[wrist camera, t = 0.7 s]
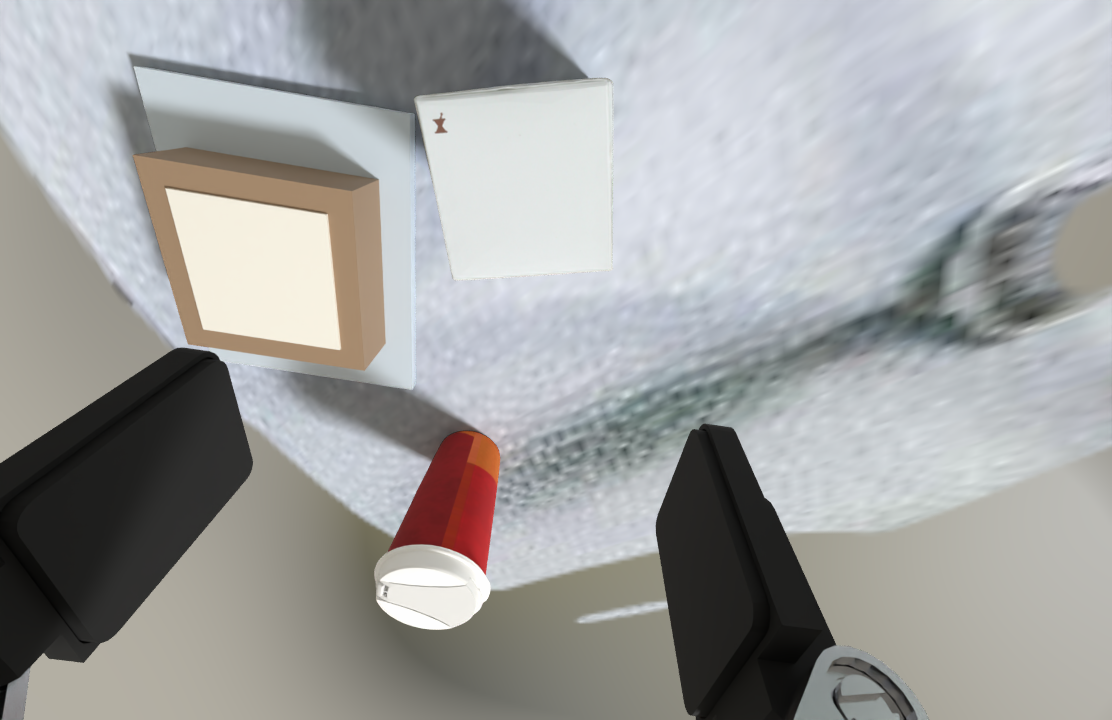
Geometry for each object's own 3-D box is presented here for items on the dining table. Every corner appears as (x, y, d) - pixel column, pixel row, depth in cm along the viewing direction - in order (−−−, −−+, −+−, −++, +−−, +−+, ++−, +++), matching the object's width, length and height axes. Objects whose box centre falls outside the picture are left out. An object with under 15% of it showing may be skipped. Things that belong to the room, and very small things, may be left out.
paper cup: (422, 473, 43) (362, 620, 31) (435, 411, 40) (371, 551, 28) (502, 493, 44) (474, 643, 32) (522, 433, 40) (498, 579, 28)
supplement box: (492, 216, 31) (445, 284, 20) (475, 90, 27) (406, 89, 16) (601, 210, 30) (614, 276, 20) (599, 80, 27) (613, 72, 16)
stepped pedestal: (147, 67, 27) (62, 62, 23) (415, 113, 28) (383, 117, 24) (220, 353, 38) (171, 389, 33) (415, 383, 38) (394, 421, 34)
